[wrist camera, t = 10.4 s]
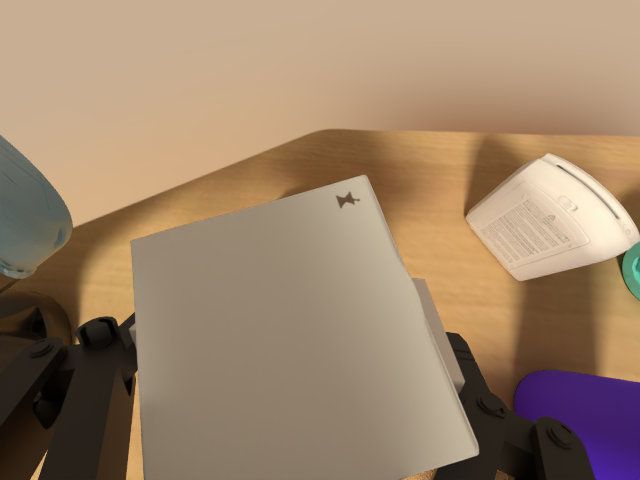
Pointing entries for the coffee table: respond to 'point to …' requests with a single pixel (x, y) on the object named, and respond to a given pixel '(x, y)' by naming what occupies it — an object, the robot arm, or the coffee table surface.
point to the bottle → (589, 416)
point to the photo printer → (551, 220)
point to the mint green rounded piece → (632, 269)
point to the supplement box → (289, 348)
